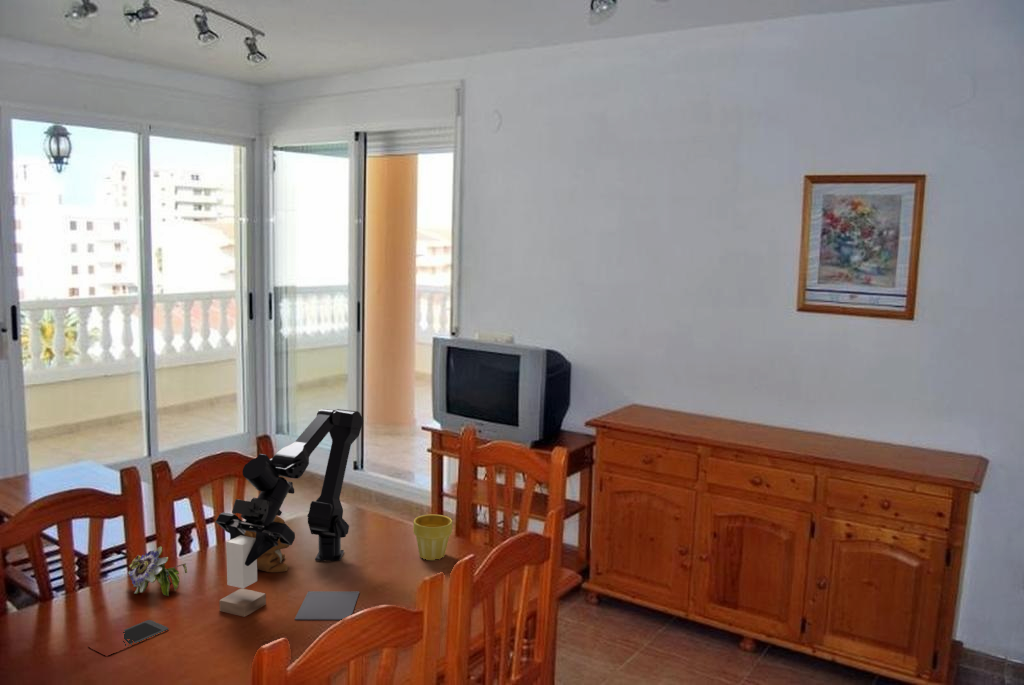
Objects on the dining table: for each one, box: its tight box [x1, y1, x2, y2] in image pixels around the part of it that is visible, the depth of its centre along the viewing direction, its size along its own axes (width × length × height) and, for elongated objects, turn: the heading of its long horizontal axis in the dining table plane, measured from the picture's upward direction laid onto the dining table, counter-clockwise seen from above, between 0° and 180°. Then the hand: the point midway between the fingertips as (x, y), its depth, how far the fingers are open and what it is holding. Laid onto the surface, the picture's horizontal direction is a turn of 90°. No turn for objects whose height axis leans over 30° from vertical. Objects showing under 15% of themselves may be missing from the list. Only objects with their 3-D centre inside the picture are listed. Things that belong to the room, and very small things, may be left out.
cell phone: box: [123, 619, 170, 646], centre depth 163 cm, size 7×14×1 cm, turn 147°
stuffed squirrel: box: [244, 515, 291, 573], centre depth 201 cm, size 10×14×13 cm
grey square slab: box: [219, 588, 267, 618], centre depth 178 cm, size 7×7×2 cm
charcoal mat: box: [294, 590, 360, 621], centre depth 180 cm, size 14×12×1 cm
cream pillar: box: [226, 535, 258, 589], centre depth 177 cm, size 4×4×10 cm
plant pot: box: [412, 514, 453, 561], centre depth 210 cm, size 10×10×10 cm
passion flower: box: [127, 545, 188, 597], centre depth 187 cm, size 11×11×12 cm
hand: (237, 563), depth 176 cm, fingers closed on cream pillar, 4 cm apart
